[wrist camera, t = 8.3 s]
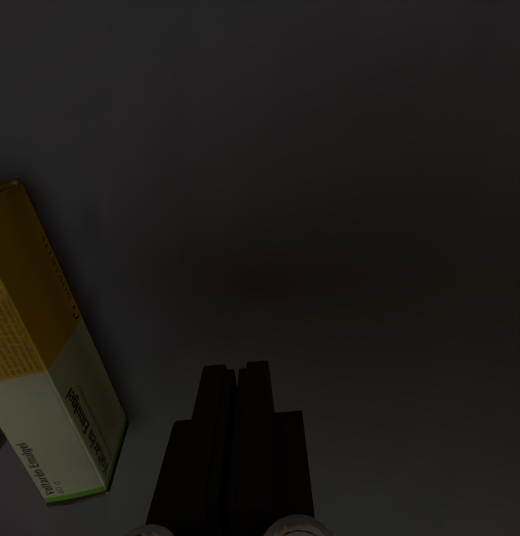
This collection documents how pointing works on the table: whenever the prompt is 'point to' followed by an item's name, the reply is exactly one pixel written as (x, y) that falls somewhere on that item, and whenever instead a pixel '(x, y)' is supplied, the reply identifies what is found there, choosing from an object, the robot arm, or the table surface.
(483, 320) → the table surface
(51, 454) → the medication box
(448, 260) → the table surface
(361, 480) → the table surface
